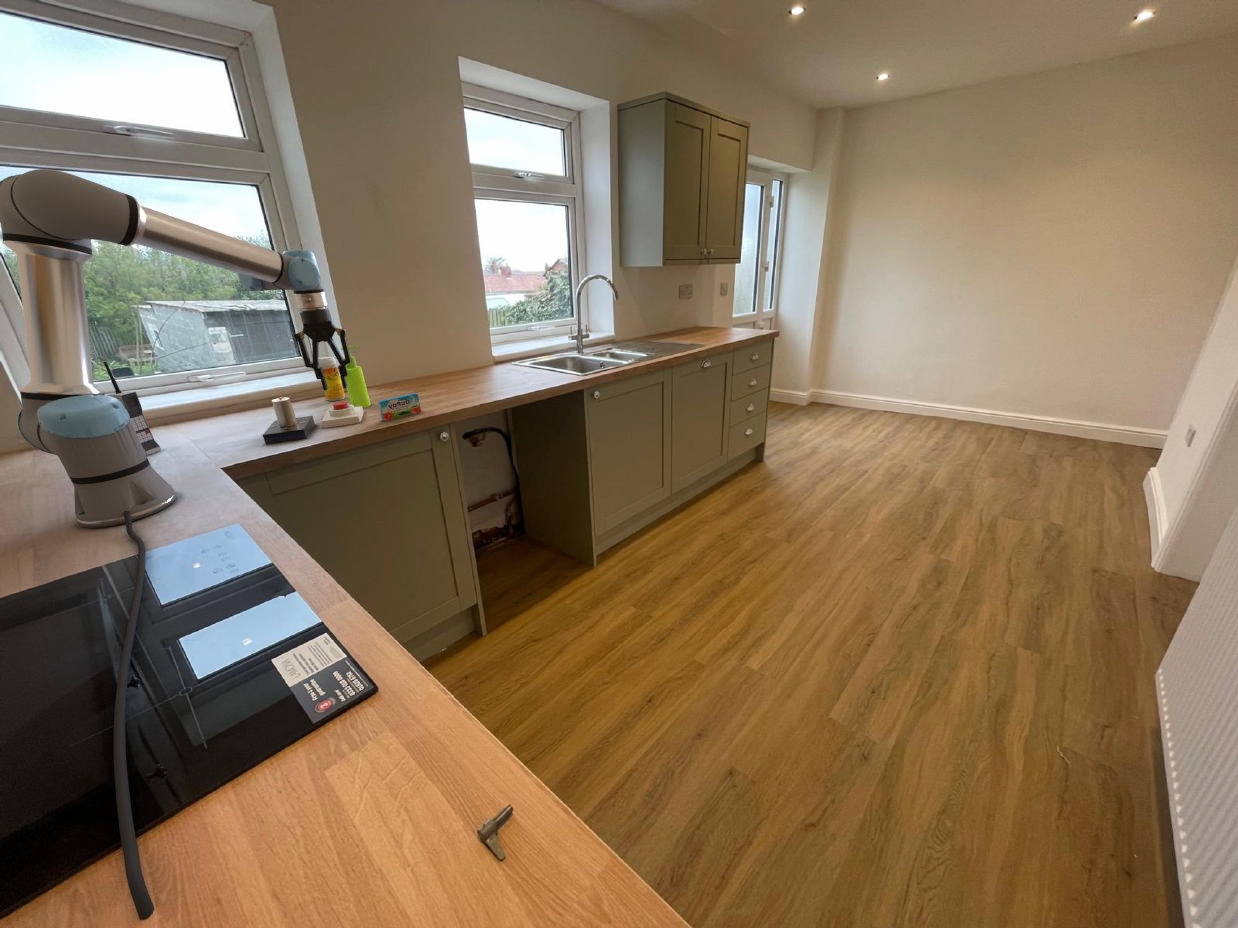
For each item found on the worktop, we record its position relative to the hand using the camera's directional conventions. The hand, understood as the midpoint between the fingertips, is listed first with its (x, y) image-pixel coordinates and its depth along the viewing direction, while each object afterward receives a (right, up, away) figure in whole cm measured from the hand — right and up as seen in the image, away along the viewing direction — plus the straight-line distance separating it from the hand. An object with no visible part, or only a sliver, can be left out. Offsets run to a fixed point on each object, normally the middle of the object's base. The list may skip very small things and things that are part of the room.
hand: (335, 388), depth 152 cm
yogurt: (+18, -8, +5) cm, 21 cm away
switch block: (0, -9, +4) cm, 10 cm away
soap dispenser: (-1, -3, +18) cm, 19 cm away
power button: (0, -6, +3) cm, 7 cm away
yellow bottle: (-16, 0, +28) cm, 32 cm away
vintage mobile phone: (-42, -20, -16) cm, 49 cm away
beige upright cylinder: (-9, -12, -8) cm, 17 cm away
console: (-9, -15, -7) cm, 18 cm away
